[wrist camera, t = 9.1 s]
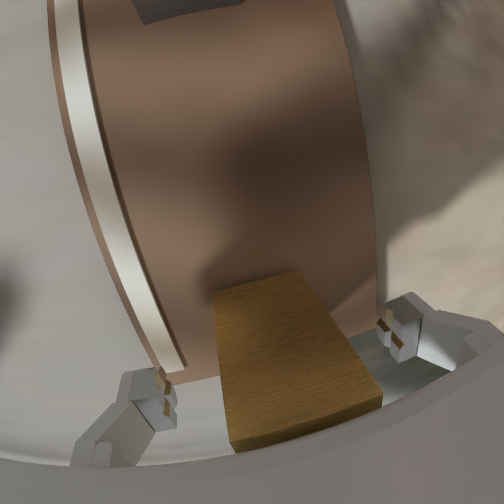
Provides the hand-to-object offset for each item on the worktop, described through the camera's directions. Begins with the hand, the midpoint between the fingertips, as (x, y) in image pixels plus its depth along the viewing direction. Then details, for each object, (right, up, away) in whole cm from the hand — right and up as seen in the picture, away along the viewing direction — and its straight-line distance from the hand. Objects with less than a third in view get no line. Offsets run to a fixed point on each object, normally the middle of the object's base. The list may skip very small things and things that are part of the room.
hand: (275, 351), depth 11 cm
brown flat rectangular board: (-2, +8, +1) cm, 8 cm away
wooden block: (0, +1, +2) cm, 2 cm away
